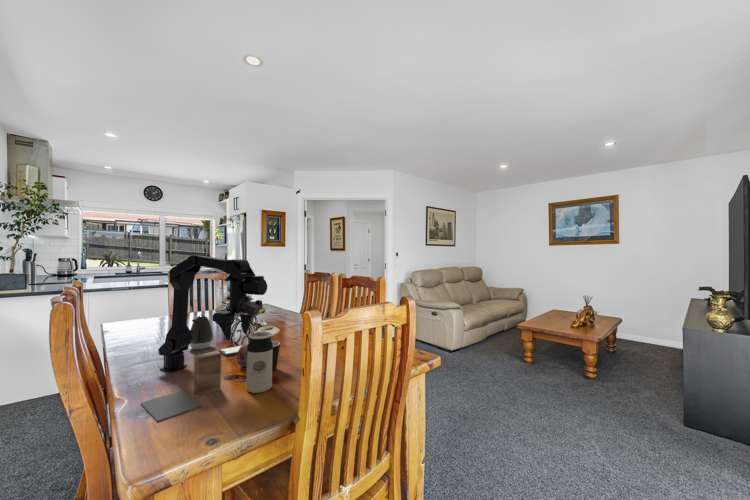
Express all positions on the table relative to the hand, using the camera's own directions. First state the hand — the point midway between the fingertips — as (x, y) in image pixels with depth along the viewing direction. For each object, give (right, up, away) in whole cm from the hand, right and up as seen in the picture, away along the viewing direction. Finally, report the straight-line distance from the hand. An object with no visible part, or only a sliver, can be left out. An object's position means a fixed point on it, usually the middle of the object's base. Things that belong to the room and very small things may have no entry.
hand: (237, 336), depth 114 cm
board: (-4, -15, -12) cm, 19 cm away
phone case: (-12, -15, +30) cm, 35 cm away
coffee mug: (+7, -15, +7) cm, 18 cm away
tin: (-1, -15, +15) cm, 21 cm away
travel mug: (+12, -15, -9) cm, 21 cm away
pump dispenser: (-31, -15, +33) cm, 48 cm away
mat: (-10, -14, -22) cm, 28 cm away
